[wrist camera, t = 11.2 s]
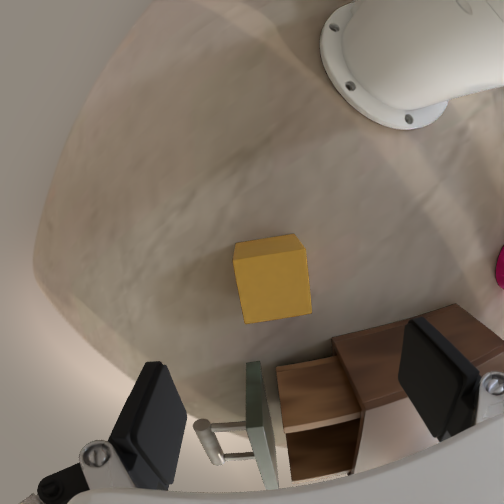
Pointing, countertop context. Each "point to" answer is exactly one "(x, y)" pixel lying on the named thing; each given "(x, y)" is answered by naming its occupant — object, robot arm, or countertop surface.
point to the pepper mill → (500, 269)
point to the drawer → (295, 422)
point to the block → (272, 278)
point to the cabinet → (389, 389)
